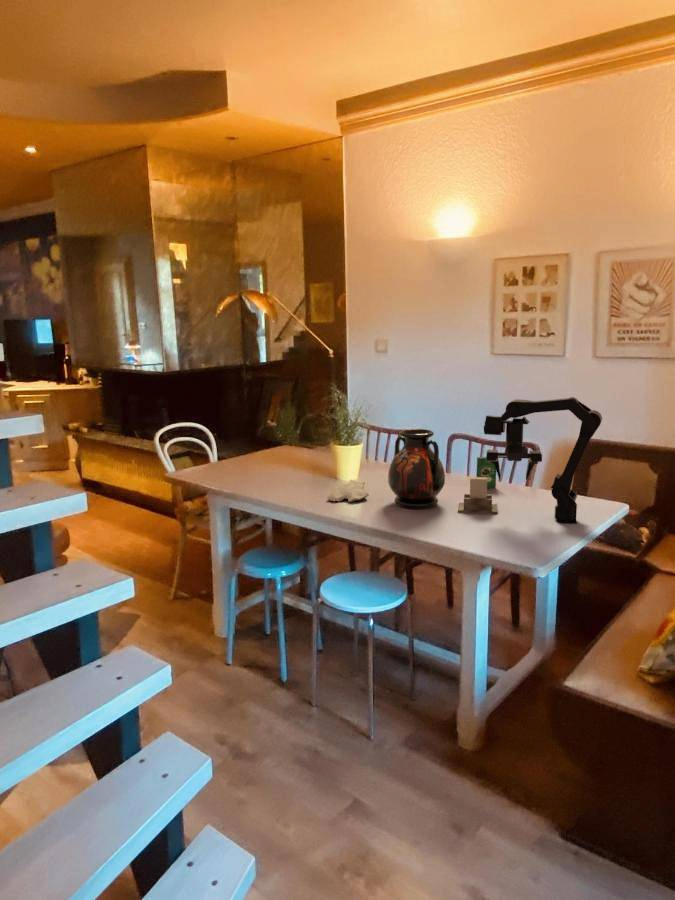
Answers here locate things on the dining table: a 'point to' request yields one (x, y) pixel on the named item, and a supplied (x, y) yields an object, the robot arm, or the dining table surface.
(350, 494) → the rock
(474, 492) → the tan rectangular block
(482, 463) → the coffee box
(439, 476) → the amphora vase
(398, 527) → the dining table surface
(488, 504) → the slot rack
